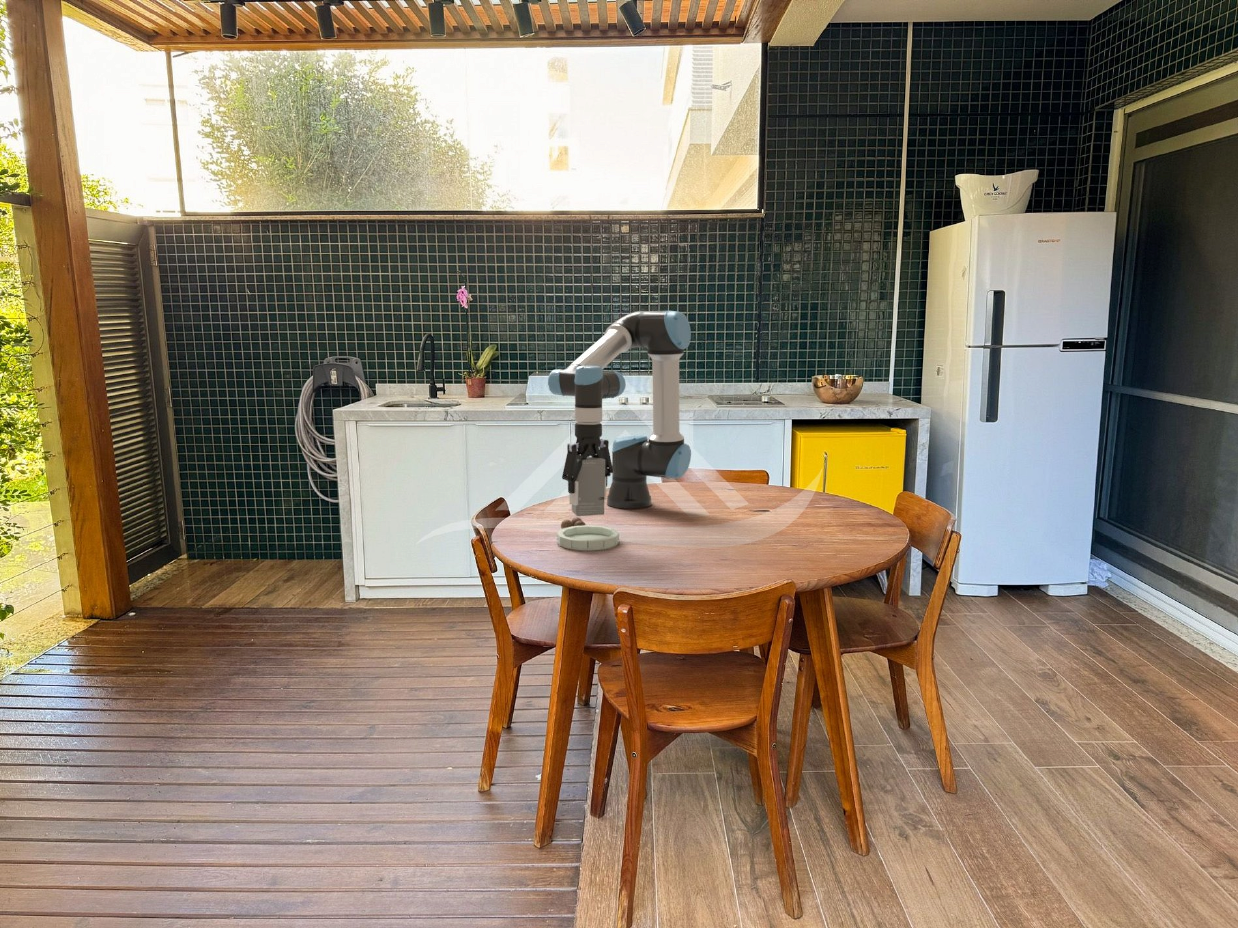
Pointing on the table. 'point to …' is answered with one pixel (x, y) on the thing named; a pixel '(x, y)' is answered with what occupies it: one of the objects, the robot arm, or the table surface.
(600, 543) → the tray
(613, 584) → the table surface
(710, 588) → the table surface
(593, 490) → the skincare box
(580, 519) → the bead
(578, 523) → the bead
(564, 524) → the bead
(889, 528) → the table surface
